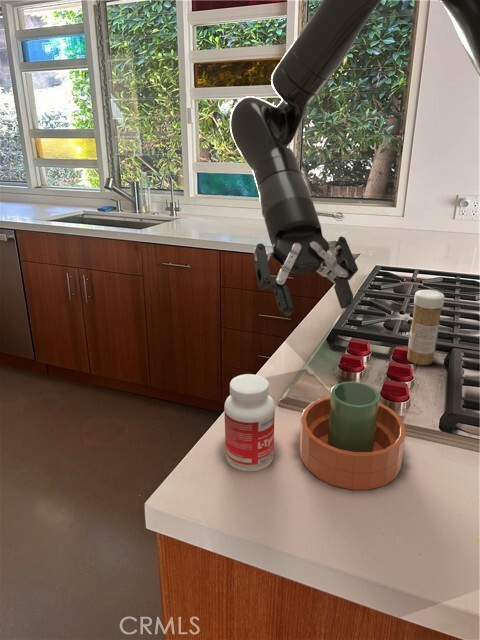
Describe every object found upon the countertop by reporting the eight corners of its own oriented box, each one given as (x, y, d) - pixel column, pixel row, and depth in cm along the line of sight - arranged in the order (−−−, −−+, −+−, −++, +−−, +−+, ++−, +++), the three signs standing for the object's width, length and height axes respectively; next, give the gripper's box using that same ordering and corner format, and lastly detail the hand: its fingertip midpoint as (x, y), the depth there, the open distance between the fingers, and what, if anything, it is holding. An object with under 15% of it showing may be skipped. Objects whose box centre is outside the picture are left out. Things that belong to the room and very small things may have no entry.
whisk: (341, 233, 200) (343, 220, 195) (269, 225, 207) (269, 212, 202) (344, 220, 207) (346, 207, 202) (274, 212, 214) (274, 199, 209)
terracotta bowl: (365, 422, 66) (369, 388, 64) (421, 480, 55) (428, 442, 53) (285, 439, 63) (286, 404, 61) (327, 504, 52) (330, 465, 50)
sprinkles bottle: (409, 357, 84) (419, 287, 79) (435, 363, 82) (447, 291, 77) (401, 367, 81) (411, 294, 76) (428, 374, 78) (441, 299, 73)
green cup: (357, 436, 62) (363, 377, 58) (381, 464, 57) (389, 401, 53) (318, 445, 60) (322, 385, 57) (340, 474, 55) (345, 410, 52)
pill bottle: (263, 480, 55) (264, 401, 51) (217, 467, 58) (214, 390, 53) (280, 449, 61) (282, 375, 56) (237, 438, 63) (236, 366, 59)
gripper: (248, 197, 63) (277, 304, 57) (341, 192, 67) (377, 291, 61) (237, 229, 70) (262, 327, 64) (322, 222, 74) (353, 314, 68)
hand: (318, 309), depth 63 cm, fingers open, 8 cm apart
